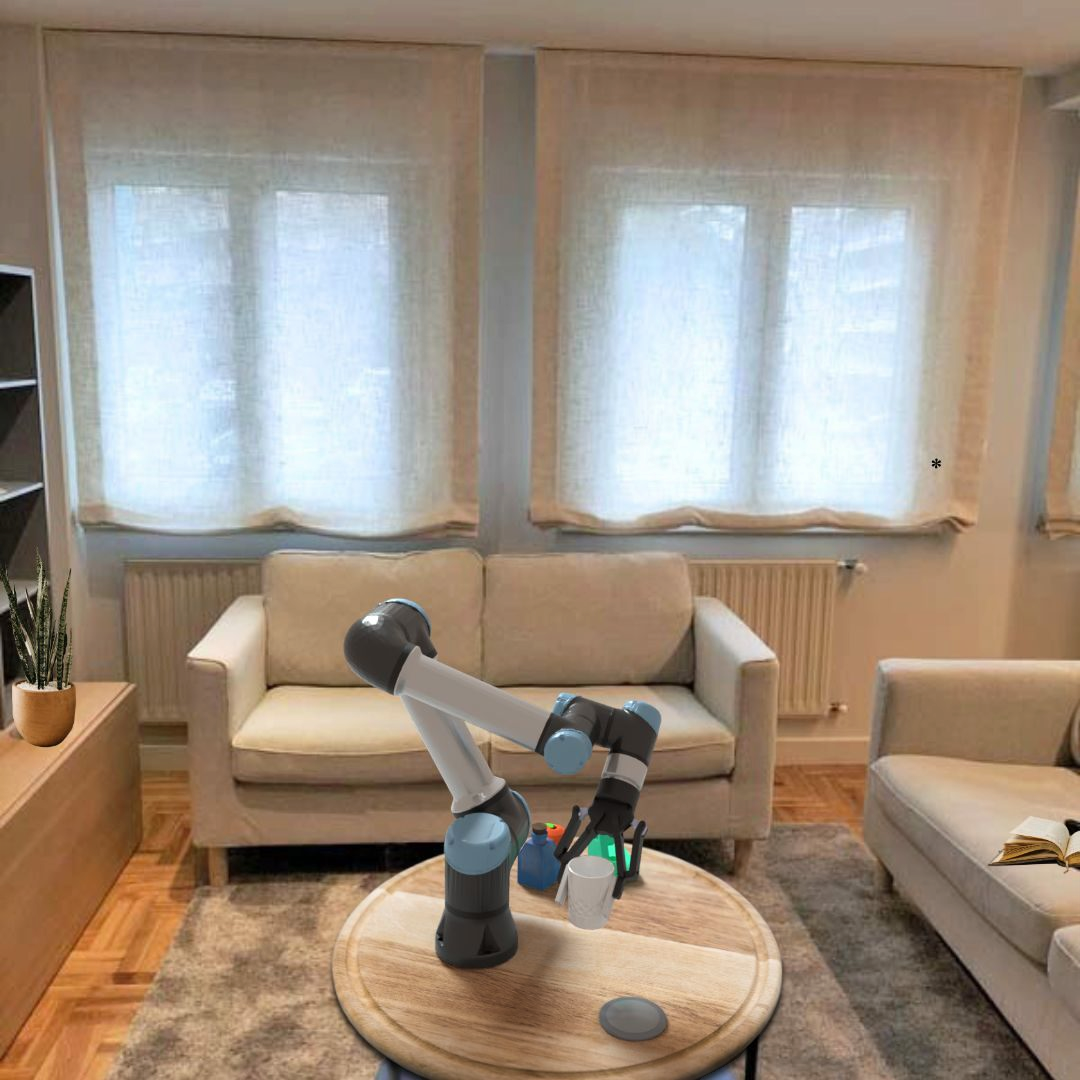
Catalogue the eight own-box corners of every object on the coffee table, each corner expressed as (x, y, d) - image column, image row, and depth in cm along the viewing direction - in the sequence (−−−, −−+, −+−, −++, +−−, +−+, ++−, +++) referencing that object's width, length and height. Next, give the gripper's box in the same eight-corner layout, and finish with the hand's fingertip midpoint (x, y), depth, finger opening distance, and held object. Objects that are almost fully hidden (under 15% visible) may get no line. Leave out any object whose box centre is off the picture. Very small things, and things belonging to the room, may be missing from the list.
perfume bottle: (559, 878, 232) (560, 824, 229) (543, 891, 227) (544, 835, 224) (533, 870, 235) (534, 816, 233) (517, 882, 230) (518, 827, 227)
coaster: (589, 1029, 184) (589, 1025, 184) (613, 993, 193) (613, 989, 193) (653, 1048, 179) (653, 1044, 179) (675, 1010, 189) (675, 1006, 189)
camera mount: (639, 882, 231) (641, 835, 229) (603, 886, 230) (605, 839, 227) (621, 855, 243) (623, 810, 241) (587, 858, 241) (588, 813, 239)
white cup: (583, 902, 200) (586, 850, 198) (620, 919, 195) (623, 866, 193) (555, 920, 194) (558, 866, 192) (592, 937, 189) (596, 883, 187)
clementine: (526, 854, 242) (526, 823, 240) (548, 844, 247) (548, 813, 245) (554, 867, 236) (555, 835, 235) (576, 856, 241) (577, 825, 240)
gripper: (679, 805, 201) (643, 932, 190) (572, 781, 209) (532, 901, 198) (672, 788, 195) (634, 918, 184) (562, 764, 203) (520, 887, 192)
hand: (581, 909), depth 191 cm, fingers closed on white cup, 8 cm apart
